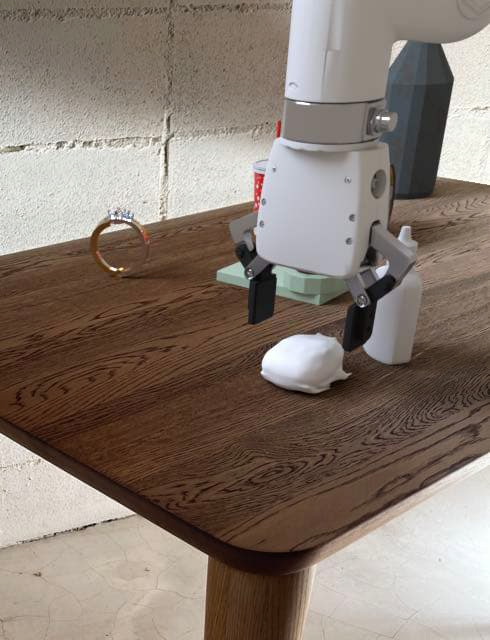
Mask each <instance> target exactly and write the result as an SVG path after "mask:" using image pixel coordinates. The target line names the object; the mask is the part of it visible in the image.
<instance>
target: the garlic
mask: <svg viewBox="0 0 490 640" xmlns="http://www.w3.org/2000/svg"><path fill="white" fill-rule="evenodd" d="M337 339H338V338H337V337H335V336H333V337H332V336H328V335H324V334H322V333H321V332H317V333H316V334H304V333H303V334H302V333H301V334H294V335H292V336H289V337H286V338H284V339H282V340H280V341H278V343H276V344H275V345H274V346H273V347H272V348H269V350H267V352H266V353H265V355H264V356H263V358H262V361H261V369H262V370H261V371H260V375H261V376H262V377H263V378H264V379H265V380H267V381H268V382H270V383H272V384H274V385H275V386H277V387H279V388H282V389H285V390H289V391H298V392H302V393H303V392H304V393H307V394H319V393H322V392H324V391H326V390H329V389H331V387H330V386H331V383H333V382H335V381H339V380H347V379H348V377H349V376H351V375H353V373H352V372H348V373H346V372H345V370H343V362H344V361H343V360H344V355H345V351H344V349H343V348H342V345H341V343H340V342H339V341H338V340H337Z"/></svg>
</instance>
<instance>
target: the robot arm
mask: <svg viewBox="0 0 490 640" xmlns="http://www.w3.org/2000/svg"><path fill="white" fill-rule="evenodd" d="M489 25H490V0H292V5H291V17H290V26H289V27H290V29H289V39H288V50H287V63H286V73H285V74H286V75H285V84H284V85H285V86H284V96H283V105H282V116H281V133H280V137H279V138H277V139H276V138H275V139H274V141H273V144H272V146H271V150H270V153H269V157H268V158H269V160H268V164H267V168H266V172H265V177H264V182H263V187H262V193H261V199H260V205H259V210H257V211H255V212H254V211H253V212H251V213H249V214H246V215H244V216H242V217H241V216H240V217H239V218H237V219H235V220H232V221H230V222H229V224H228V230H229V233H230V236H231V239H232V243H233V246H235V249H234V254H235V256H236V258H237V259H238V262H241V264H242V266H243V267H244V269H245V270H244V276H245V278H246V279H248V280H250V283H249V288H248V298H247V310H248V315H247V324H248V325H251V326H256V325H259V324H260V323H262V322H266V320H269V319H271V318H273V317H274V315H275V314H274V313H275V304H276V296H277V295H276V285H277V277H276V274H274V273H272V270H273V269H274V268H275V267H276V266H277V265H278V266H282V267H286V268H291V269H295V270H299V271H304V272H308V273H313V274H317V275H322V276H326V277H331V278H336V279H344V281H345V283H346V285H347V287H348V289H349V290H348V291H349V293H350V295H351V297H352V298H353V300H354V303H352V304H350V305H348V306H347V311H346V317H345V324H344V330H343V331H344V332H343V338H342V345H341V346H342V348H343V349H344V352H348V353H351V352H353V351H355V350H357V349H358V348H360V347H362V346H363V345H364V344H365V343H366V342H367V340H369V339H370V337H371V335H372V332H373V326H374V320H375V314H376V308H377V302H378V300H380V299H382V298H383V297H384V296H385V295H386V294H388V293H389V292H391V291H392V290H393V289H395V288H396V287H398V286H399V285H400V284H401V282H402V280H403V278H404V277H405V276H406V275H407V274H408V272H409V271H410V270H411V268H412V267H413V266H414V267H415V265H416V263H417V261H418V256H417V254H415V253H414V252H413V251H411V250H410V249H409V248H408V247H407V246H405V245H404V244H403V243H402V242H401V241H400V240H398V239H397V238H398V237H396V236H395V235H393V234H392V233H391V232H390V231H389V230H388V226H387V224H388V212H389V197H390V160H389V147H388V144H387V143H383V142H378V141H379V137H381V135H382V133H383V132H384V131H386V132H392V131H393V130H394V129H395V127H396V125H397V120H398V116H397V113H395V112H389V111H388V110H385V108H386V102H387V100H386V99H385V92H386V86H387V79H388V72H389V68H390V66H391V58H392V52H393V46H394V44H396V43H397V42H399V41H406V42H407V41H414V42H423V43H435V44H441V45H442V44H443V45H446V44H453V43H457V42H461V41H464V40H467V39H469V38H471V37H473V36H475V35H477V34H478V33H479V32H481V31H483V30H485V28H487V27H488V26H489ZM388 225H389V224H388ZM255 227H257V231H256V235H255V241H253V239H252V238H253V236H252V235H253V234H252V231H253V230H254V228H255ZM383 258H385V259H386V261H387V260H388V261H389V268H388V270H387V272H386V273H385V275H384V276H383V277H382V278H380V279H379V277H378V275H377V273H376V271H375V269H374V267H375V268H377V267H378V266H380V264H381V263H382V261H383ZM414 264H415V265H414ZM414 267H413V268H414Z"/></svg>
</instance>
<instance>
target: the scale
mask: <svg viewBox="0 0 490 640" xmlns="http://www.w3.org/2000/svg"><path fill="white" fill-rule="evenodd" d="M374 269H375V271H376V270H377V267H374ZM244 270H245V269H244V267H243V266H242V264H241V262H240V261H237V262H235V263H233V264H230V265H228V266H225V267H223V268H220V269H218V270H217V271H216V281H217V282H222V283H226V284H230V285H234V286H238V287H242V288H246V289H249V283H250V280H248V279H246V278H245V276H244ZM272 273H274V274H276V277H277V285H276V296H279V297H283V298H287V299H291V300H295V301H299V302H303V303H307V304H311V305H315V306H321V305H323V304H325V303H328V302H329V301H331V300H333V299H335V298H337V297H339V296H341V295H343V294H344V293H346V292H348V291H349V289H348V287H347V285H346V283H345V281H344V279H336V278H331V277H326V276H322V275H308V274H303V273H299V272H298V270H295V269H291V268H286V267H282V266H278V265H277V266H276V267H275V268H274V269H273V270H272Z"/></svg>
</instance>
